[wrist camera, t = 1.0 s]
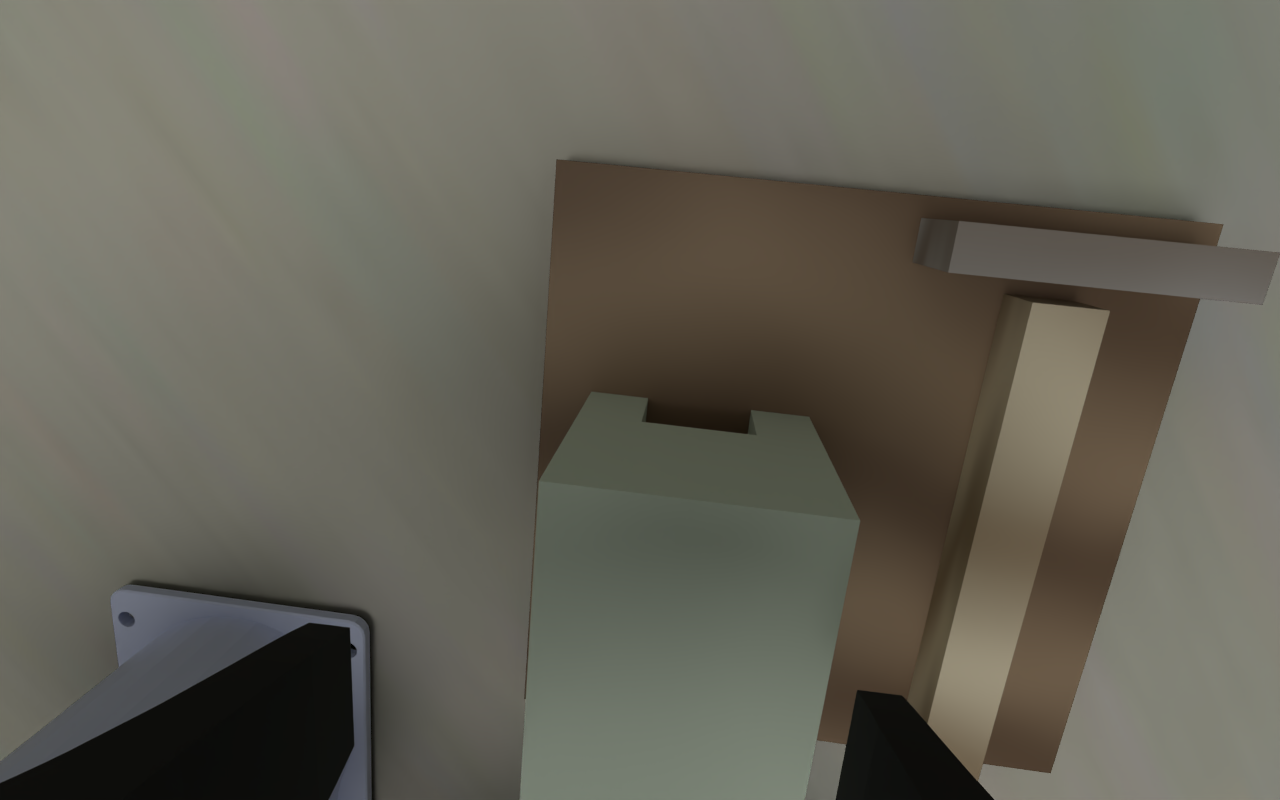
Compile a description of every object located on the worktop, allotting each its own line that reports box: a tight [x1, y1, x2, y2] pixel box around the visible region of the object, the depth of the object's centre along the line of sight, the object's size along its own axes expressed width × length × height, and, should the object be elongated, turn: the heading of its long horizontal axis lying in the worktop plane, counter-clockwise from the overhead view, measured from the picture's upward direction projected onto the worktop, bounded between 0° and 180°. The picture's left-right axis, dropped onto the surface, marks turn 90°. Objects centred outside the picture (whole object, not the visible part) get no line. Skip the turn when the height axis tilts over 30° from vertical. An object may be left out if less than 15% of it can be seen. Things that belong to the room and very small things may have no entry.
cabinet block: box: [520, 392, 860, 800], centre depth 16 cm, size 8×6×6 cm
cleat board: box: [524, 160, 1280, 781], centre depth 17 cm, size 15×15×4 cm
